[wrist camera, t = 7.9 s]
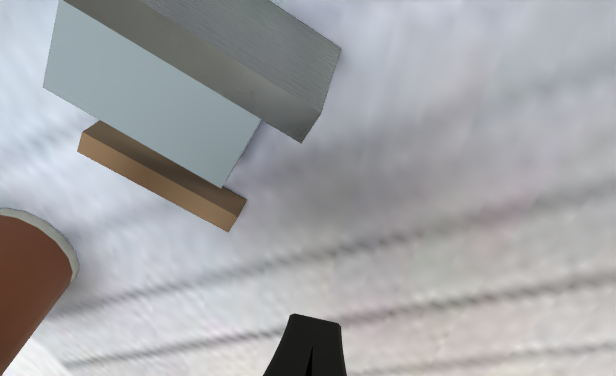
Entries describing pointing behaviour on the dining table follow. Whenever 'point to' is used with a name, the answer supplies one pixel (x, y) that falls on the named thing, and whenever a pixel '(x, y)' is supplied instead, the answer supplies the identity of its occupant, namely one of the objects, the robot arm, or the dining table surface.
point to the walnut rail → (160, 175)
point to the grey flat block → (233, 52)
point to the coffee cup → (29, 277)
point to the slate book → (145, 97)
